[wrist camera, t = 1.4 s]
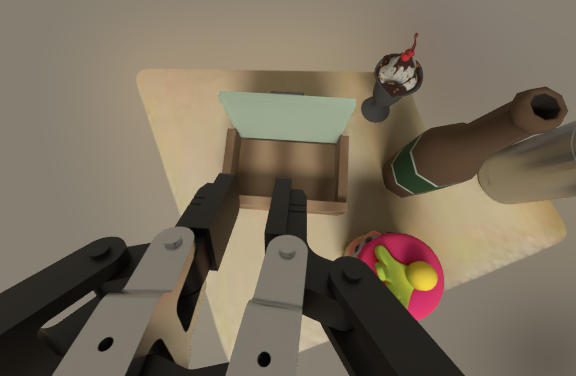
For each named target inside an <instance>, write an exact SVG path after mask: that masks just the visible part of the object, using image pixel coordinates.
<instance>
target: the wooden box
mask: <svg viewBox="0 0 576 376" xmlns="http://www.w3.org/2000/svg"><path fill="white" fill-rule="evenodd" d="M348 145H349V136H340V138H339V140H338V142H337V144H336V145H328V144H312V143H297V142H281V141H266V140H250V139H241V137H240V136H239V134H238V132H237V130H236V129H228V131H227V139H226V147H225V155H224V163H223V171H222V173H227V174H236V175H237V178H238V188H239V198H240V207H239V208H244V209H258V210H269V209H270V204H271V199H272V194H273V189H274V184H275V179H276V177H284V178H292V184H291V189H300V190H303V191H304V193H305V195H306V196H307V213H312V214H325V215H340V214H343V213H346V212H348V203H346V202H347V174H348Z"/></svg>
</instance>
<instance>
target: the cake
mask: <svg viewBox="0 0 576 376" xmlns="http://www.w3.org/2000/svg"><path fill="white" fill-rule="evenodd" d="M343 256H351V257H355V258H358V259H360V260H362V261H364V262H365V263H366V264H367V265H368V266H369V267H370V268H371V269H372V270H373V271H374V272H375V274H376V275H377V276H378V277H379V278H380V279H381V280H382V282H383V283H384V284H385V285H386V286H387V287H388V288H389V290H390V291H391V292H392V293H393V294H394V295H395V296H396V298H397V299H398V300H399V301H400V302H401V303H402V304H403V306H404V307H405V308H406V309H407V310H408V311H409V312H410V314H411V315H412V316H413V317H414V318H415V319H416V320H417V321H418V320H420V319H423V318H424V317H426V316H427V315H429V314H430V313H431V312H432V311H433V310H434V309H435V308H436V306H437V305H438V303H439V302H440V299H441V297H442V294H443V289H444V275H443V270H442V266H441V264H440V262H439V260H438V258H437V256H436V255H435V253H434V252H433V251H432V249H431V248H430V247H429V246H428V245H426V244H425V243H424V242H422V241H421V240H419V239H417V238H415V237H413V236H411V235H407V234H402V233H393V232H386V233H380V232H378V231H371V232H369V233H368V234H364V235H362V236H359V237H357V238H355V239H354V240H353V241H352V242H350V243H349V245H348V246H347V248H346V249H345V251H344V255H343Z"/></svg>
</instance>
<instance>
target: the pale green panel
mask: <svg viewBox="0 0 576 376" xmlns="http://www.w3.org/2000/svg"><path fill="white" fill-rule="evenodd" d="M218 99H219V100H220V102H221V104H222V106H223V107H224V109H225V111H226V113H227V115H228V116H229V118H230V120H231V122H232V123H233V125H234V127H235V129H236V130H237V132H238V134H239V136H240V137H246V138H262V139H277V140H293V141H308V142H324V143H337V142H338V140H339V138H340V136H341V135H342V133H343V131H344V129H345V127H346V125H347V123H348V121H349V119H350V117H351V115H352V113H353V111H354V109H355V107H356V99H354V98H337V97H320V96H304V93H293V92H276V91H271V94H268V93H250V92H233V91H219V98H218Z"/></svg>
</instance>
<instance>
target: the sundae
mask: <svg viewBox="0 0 576 376" xmlns="http://www.w3.org/2000/svg"><path fill="white" fill-rule="evenodd" d="M417 36H418V33H416V34H415V36H414V37H415V40H414V45H413V47H414V48H413V47H412V48H411V49H408V50H406V52H405V53H403V52H402V53H401V54H390V55H386V56H384V57H383V59H382V60H381V61H380V62H379V63H378V64H377V66H376V68H375V78H376V80H377V81H376V84H375V87H374V91H373V97H370V98H368V99H366V100H365V101H364V103H363V105H362V114H363V116H364V117H365V118H366V119H367V120H369V121H371V122H381V121H383V120H385V119H386V118H387V116H388V114H389V106H390V105H392V104H394V103H395V102H397V101H398V100H399V99H401V98H402V97H403V96H407V95H410V94H412V93H414V92H416V91H417V90H418V89H419V88H420V86H421V84H422V80H423V71H422V67H421V66H420V64H419V63H418V61H416V60H415V59H414V57H413V56H414V49H415V46H416V37H417Z"/></svg>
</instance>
